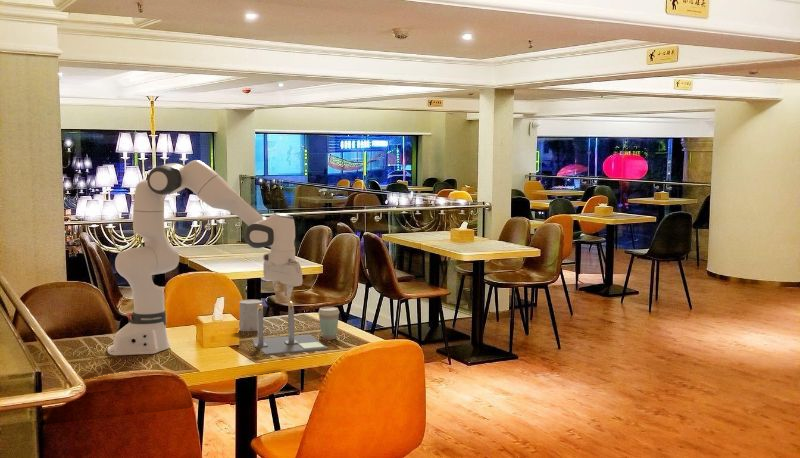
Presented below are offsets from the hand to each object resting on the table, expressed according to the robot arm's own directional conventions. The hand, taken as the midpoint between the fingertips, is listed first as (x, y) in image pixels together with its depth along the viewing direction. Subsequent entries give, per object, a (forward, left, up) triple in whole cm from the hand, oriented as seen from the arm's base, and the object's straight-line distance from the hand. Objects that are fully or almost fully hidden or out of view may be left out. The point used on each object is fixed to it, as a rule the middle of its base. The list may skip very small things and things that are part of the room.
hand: (282, 294), depth 305 cm
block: (0, 0, -3) cm, 3 cm away
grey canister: (-3, +43, -23) cm, 48 cm away
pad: (+12, +5, -22) cm, 26 cm away
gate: (0, +12, -22) cm, 25 cm away
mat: (+5, +12, -22) cm, 26 cm away
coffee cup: (+23, +18, -23) cm, 37 cm away
